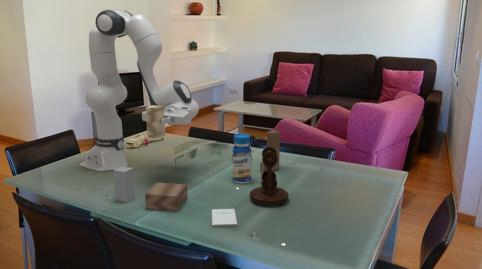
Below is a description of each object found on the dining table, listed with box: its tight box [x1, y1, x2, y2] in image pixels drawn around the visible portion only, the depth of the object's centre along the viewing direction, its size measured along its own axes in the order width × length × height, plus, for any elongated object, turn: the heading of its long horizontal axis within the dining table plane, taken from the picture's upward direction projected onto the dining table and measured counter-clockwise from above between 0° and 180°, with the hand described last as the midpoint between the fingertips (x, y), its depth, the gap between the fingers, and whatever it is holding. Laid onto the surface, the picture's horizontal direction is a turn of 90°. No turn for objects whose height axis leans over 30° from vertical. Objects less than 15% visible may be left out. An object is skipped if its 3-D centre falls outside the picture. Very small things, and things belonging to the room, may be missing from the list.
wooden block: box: [259, 129, 281, 173], centre depth 194 cm, size 9×4×18 cm, turn 139°
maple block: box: [145, 105, 166, 139], centre depth 169 cm, size 5×5×12 cm
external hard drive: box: [211, 208, 238, 229], centre depth 146 cm, size 2×8×12 cm
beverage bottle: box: [231, 133, 253, 185], centre depth 180 cm, size 8×8×20 cm
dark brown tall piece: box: [248, 146, 289, 206], centre depth 160 cm, size 15×15×20 cm
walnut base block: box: [144, 182, 189, 212], centre depth 158 cm, size 12×12×6 cm
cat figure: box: [125, 134, 165, 149], centre depth 240 cm, size 10×9×25 cm
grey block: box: [113, 166, 136, 203], centre depth 161 cm, size 5×5×12 cm
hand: (154, 120), depth 168 cm, fingers closed on maple block, 5 cm apart
